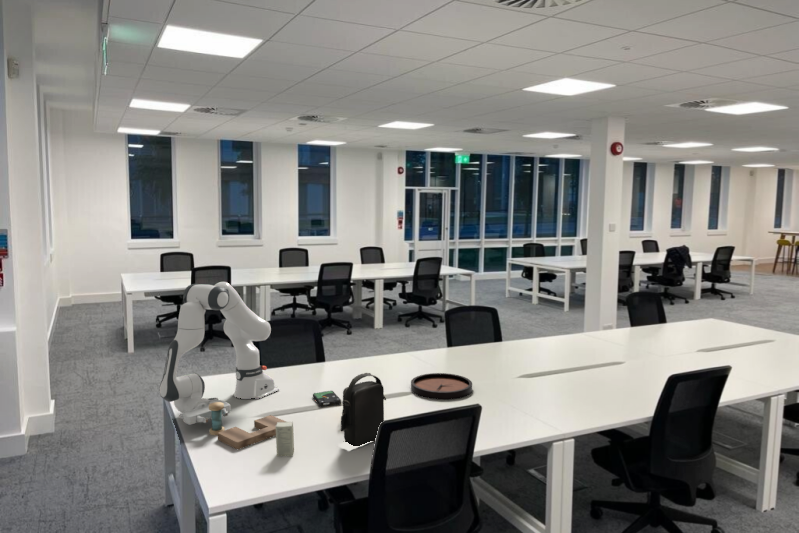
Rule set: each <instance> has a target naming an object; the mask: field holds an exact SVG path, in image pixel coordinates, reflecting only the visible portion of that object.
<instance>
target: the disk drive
mask: <svg viewBox="0 0 799 533" xmlns="http://www.w3.org/2000/svg"><path fill="white" fill-rule="evenodd" d="M312 398H313V400H314V401H315V400H316V401H317V402H316V401H315V402H316V403H317V405H318V404H319V405H318V406H319V407H320V408H323V407H324V408H325V407H331V406H339V405H342V399H341V398H340V397H339V396H338V395H337V394H336V393H335V391H334V390H326V391H321V392H313V393H312Z"/></svg>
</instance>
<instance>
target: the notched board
mask: <svg viewBox="0 0 799 533" xmlns="http://www.w3.org/2000/svg"><path fill="white" fill-rule="evenodd" d="M277 422H287V421H286V420H284V419H281V418H278V417H276V416H273V415H272V414H270V415H267V416H263V417H261V418H258V419H255V420H253V423H254V424H253V425H254V428H255V429H257V430H255V431H252V432H249V431H246V430H244V429H242V428H240V427H237V426H234V427H231V428H228V429H225V430H224V431H221V432H218V435H217V441H219V442H221V443H223V444H225V445H227V446H229V447H232V448H233V449H235V450H237V449H238V450H241V449H244V448H247V447H249V446H252V445H254V443H255V444H258V443H260V442H263V441H266V440H268V439H270V437H271V438H274V437H276V424H277ZM259 429H260V430H259ZM273 436H274V437H273ZM265 439H266V440H265ZM262 440H263V441H262ZM251 444H252V445H251ZM248 445H249V446H248ZM246 446H247V447H246ZM243 447H244V448H243ZM240 448H241V449H240Z"/></svg>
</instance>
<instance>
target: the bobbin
mask: <svg viewBox="0 0 799 533" xmlns="http://www.w3.org/2000/svg"><path fill="white" fill-rule="evenodd" d="M223 408H224V403H222V402H215V403H211V404H209V410H211V413H212V418H211V427H210V428H209V435H211V436H218V432H221V431H224V430H226V429H225V426H223V418H222V417H223V415H222V411H221V410H222V409H223Z"/></svg>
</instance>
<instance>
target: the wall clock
mask: <svg viewBox="0 0 799 533" xmlns="http://www.w3.org/2000/svg"><path fill="white" fill-rule="evenodd" d="M410 391H411V392H412V393H413V394H414V395H416V396H418V397H421V398H424V399H430V400H437V401H438V400H439V401H443V400H444V401H445V400H447V401H449V400H458V399H459V400H460V399H462V398H466V397H468V396H469V395H471V394H472V393H473V381H472V380H470V378H467V377H465V376H463V375H459V374H454V373H447V372H446V373H443V372H442V373H441V372H433V373H425V374H421V375H417V376H415V377H413V378H412V379H411V381H410Z"/></svg>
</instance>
